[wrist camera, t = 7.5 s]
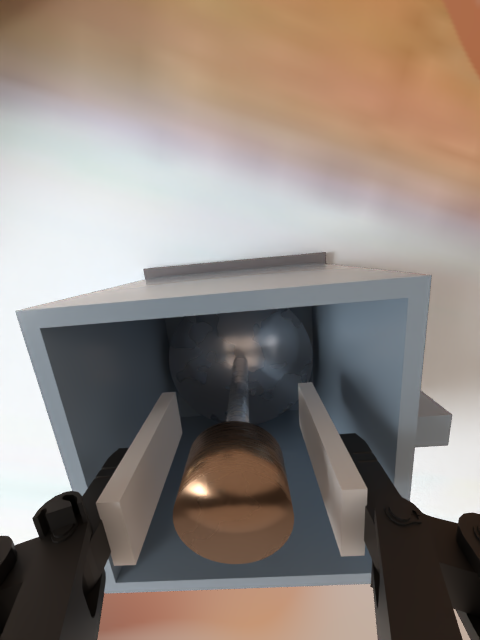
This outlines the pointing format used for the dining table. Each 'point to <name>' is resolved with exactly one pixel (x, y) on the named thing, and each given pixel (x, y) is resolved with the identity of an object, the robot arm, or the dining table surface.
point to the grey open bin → (331, 385)
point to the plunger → (237, 429)
